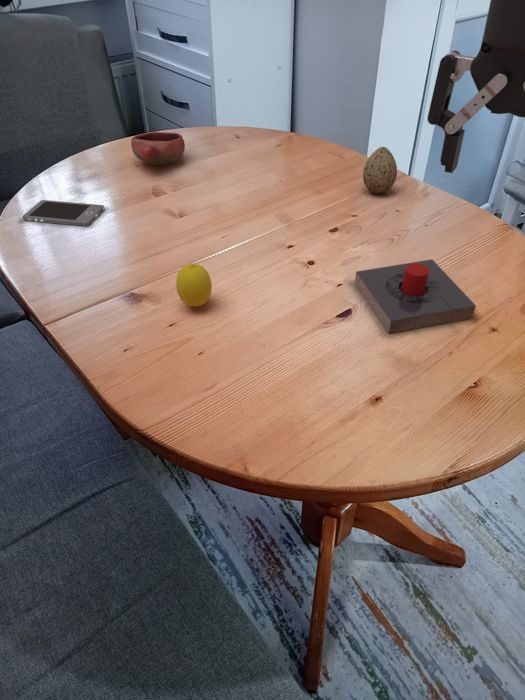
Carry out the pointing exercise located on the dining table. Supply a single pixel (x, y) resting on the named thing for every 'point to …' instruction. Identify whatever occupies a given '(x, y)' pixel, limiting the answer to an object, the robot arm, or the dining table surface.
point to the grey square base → (413, 298)
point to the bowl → (158, 147)
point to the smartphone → (64, 212)
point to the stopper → (415, 279)
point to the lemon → (193, 285)
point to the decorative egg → (380, 171)
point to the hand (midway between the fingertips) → (493, 177)
